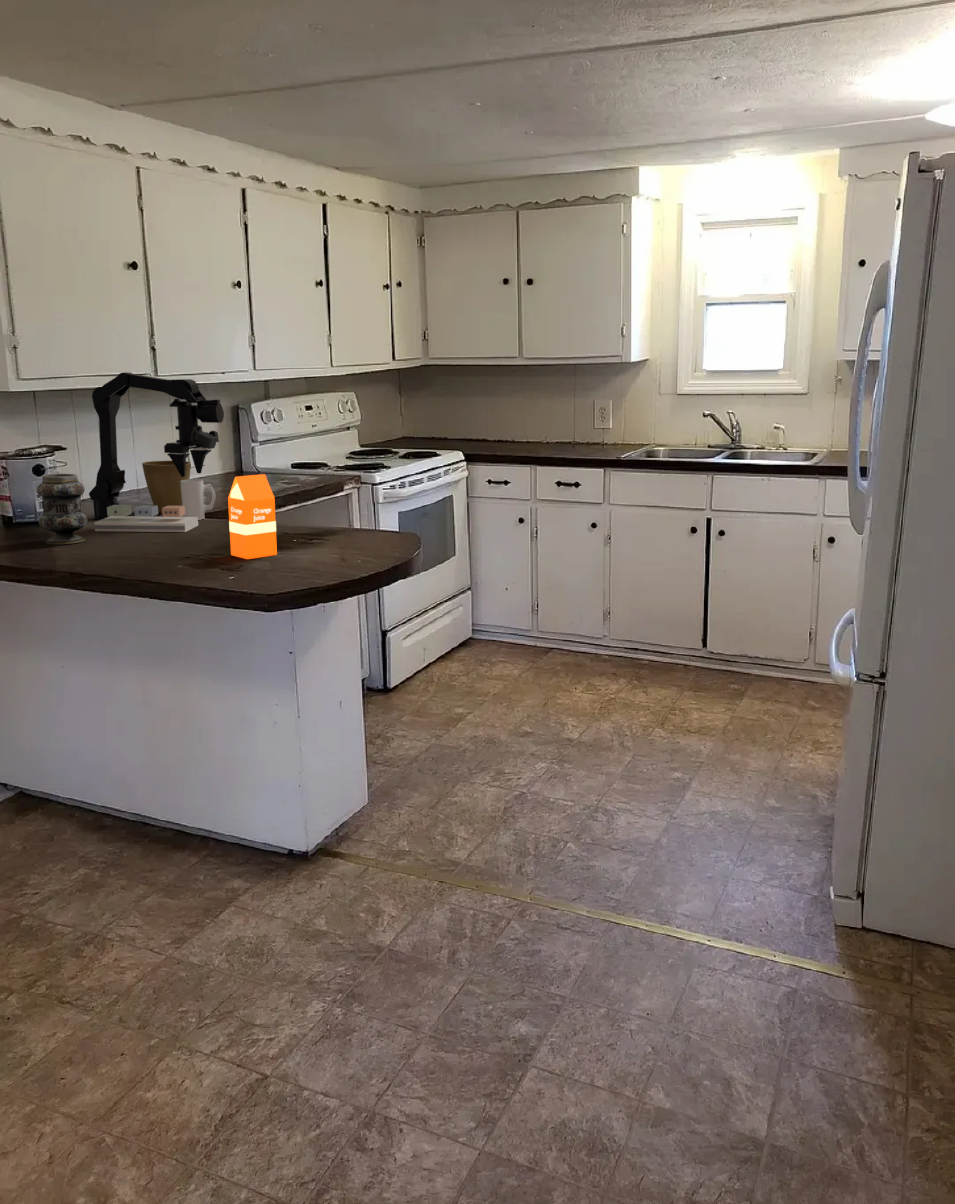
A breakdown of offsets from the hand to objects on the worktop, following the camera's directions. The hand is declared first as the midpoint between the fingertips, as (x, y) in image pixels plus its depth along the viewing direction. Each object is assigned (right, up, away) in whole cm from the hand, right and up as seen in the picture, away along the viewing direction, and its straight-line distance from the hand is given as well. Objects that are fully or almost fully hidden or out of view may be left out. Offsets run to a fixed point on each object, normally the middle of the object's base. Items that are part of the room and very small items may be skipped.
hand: (191, 474), depth 295 cm
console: (-10, -17, -10) cm, 22 cm away
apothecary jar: (-24, -22, -32) cm, 46 cm away
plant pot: (-13, -10, +20) cm, 26 cm away
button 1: (-18, -13, -11) cm, 25 cm away
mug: (+1, -13, +6) cm, 14 cm away
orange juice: (+30, -27, -48) cm, 63 cm away
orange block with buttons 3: (-2, -13, -12) cm, 18 cm away
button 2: (-10, -13, -11) cm, 20 cm away
